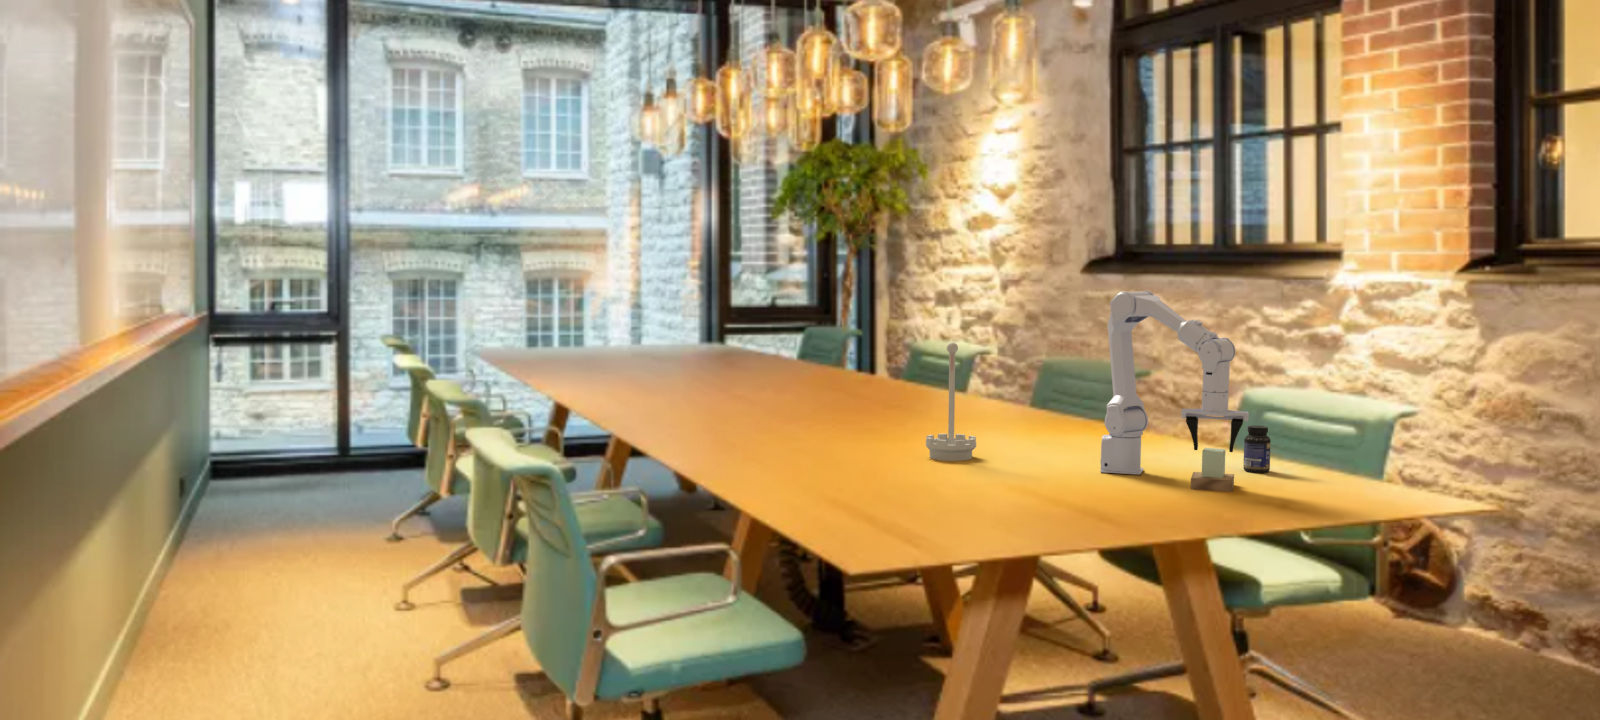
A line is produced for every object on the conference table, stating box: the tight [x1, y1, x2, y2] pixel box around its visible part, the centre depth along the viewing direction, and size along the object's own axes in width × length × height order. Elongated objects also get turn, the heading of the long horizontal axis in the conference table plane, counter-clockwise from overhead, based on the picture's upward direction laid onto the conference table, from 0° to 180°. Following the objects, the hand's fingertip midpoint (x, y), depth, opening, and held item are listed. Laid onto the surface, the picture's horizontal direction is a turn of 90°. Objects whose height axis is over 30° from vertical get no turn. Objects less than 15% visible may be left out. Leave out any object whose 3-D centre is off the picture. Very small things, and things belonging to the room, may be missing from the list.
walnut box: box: [1190, 471, 1235, 493], centre depth 298 cm, size 9×9×3 cm
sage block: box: [1201, 447, 1226, 478], centre depth 297 cm, size 4×4×6 cm
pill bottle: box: [1243, 424, 1271, 474], centre depth 319 cm, size 6×6×11 cm
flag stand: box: [925, 342, 977, 462], centre depth 337 cm, size 13×13×30 cm
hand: (1213, 450), depth 297 cm, fingers open, 7 cm apart
